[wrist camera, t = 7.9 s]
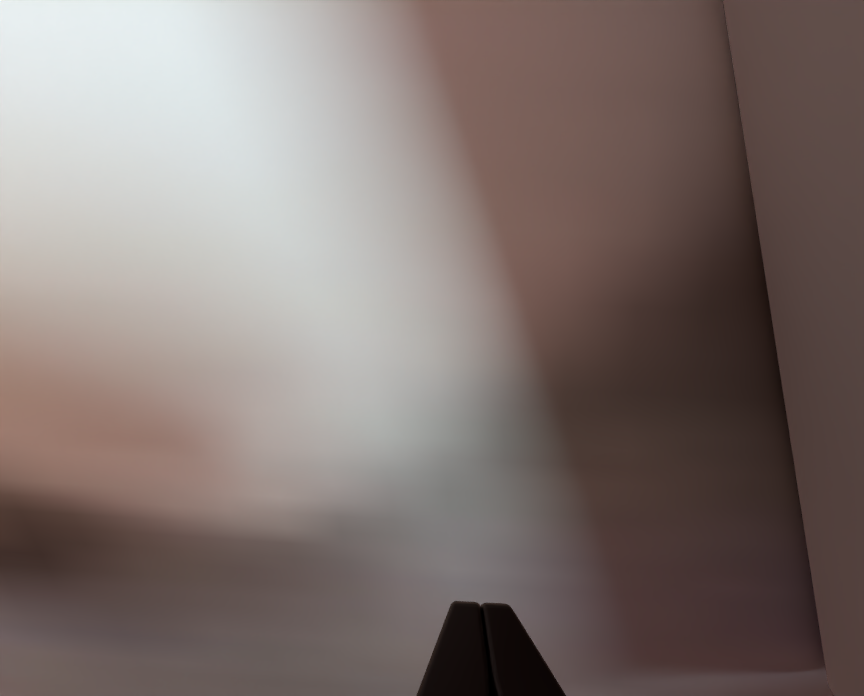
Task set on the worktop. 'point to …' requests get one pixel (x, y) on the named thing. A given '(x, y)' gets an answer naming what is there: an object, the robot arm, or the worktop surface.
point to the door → (814, 277)
